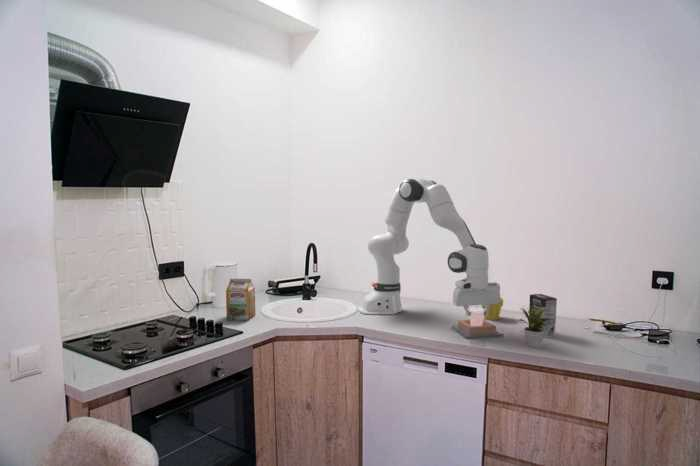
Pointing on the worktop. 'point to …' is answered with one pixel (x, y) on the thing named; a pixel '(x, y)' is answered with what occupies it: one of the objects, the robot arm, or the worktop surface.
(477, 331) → the cup holder
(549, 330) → the coffee box
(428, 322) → the worktop surface
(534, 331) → the house plant
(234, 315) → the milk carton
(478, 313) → the beverage cup
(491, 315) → the plant pot
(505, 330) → the worktop surface
